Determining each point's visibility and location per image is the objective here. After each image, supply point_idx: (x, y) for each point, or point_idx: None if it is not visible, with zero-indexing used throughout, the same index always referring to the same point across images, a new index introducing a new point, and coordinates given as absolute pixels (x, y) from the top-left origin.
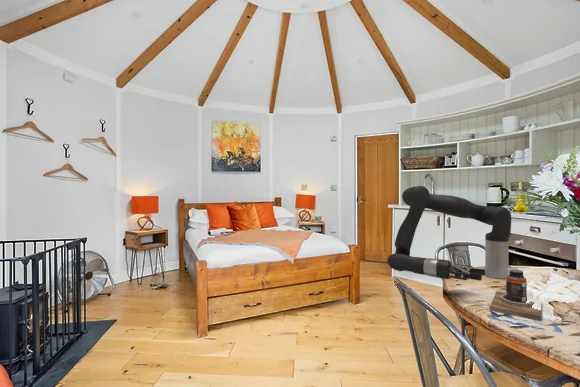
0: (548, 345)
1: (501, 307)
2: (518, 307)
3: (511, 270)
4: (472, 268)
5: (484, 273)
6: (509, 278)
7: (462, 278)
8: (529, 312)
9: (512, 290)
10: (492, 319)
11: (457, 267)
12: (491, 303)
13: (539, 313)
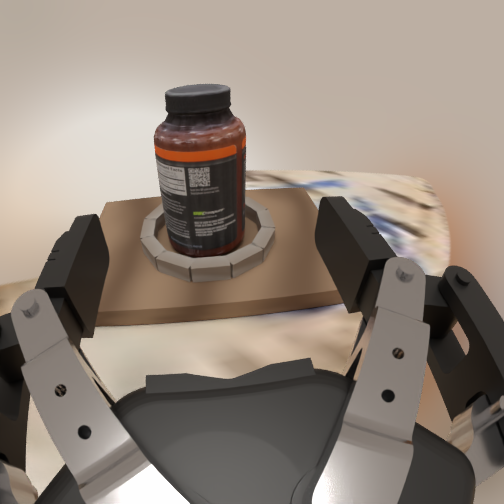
0: (425, 193)
1: None
2: (276, 224)
3: (211, 90)
4: (55, 306)
5: (105, 242)
6: (237, 133)
7: (453, 338)
8: (300, 203)
9: (244, 185)
10: (428, 272)
11: (388, 450)
12: (323, 290)
13: (283, 190)
